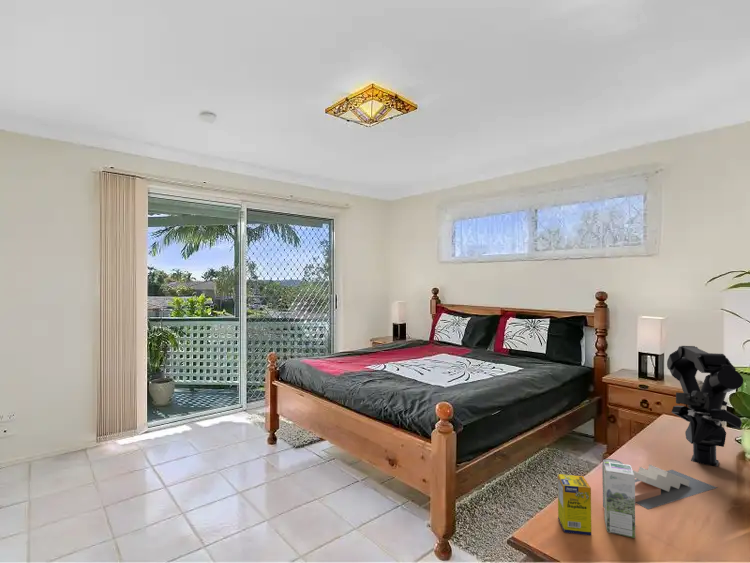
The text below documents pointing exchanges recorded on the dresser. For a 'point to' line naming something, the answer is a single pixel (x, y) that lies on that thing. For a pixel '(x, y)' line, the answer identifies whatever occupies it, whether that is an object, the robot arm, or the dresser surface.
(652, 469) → the domino
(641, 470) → the domino
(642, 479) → the domino
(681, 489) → the domino mat
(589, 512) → the supplement box
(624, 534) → the syrup box
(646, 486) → the end domino
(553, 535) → the dresser surface
